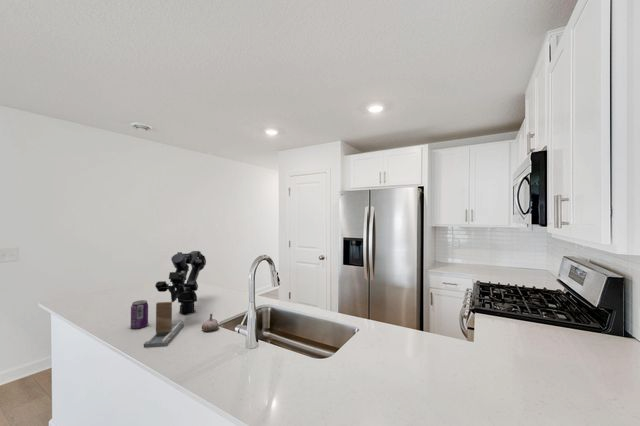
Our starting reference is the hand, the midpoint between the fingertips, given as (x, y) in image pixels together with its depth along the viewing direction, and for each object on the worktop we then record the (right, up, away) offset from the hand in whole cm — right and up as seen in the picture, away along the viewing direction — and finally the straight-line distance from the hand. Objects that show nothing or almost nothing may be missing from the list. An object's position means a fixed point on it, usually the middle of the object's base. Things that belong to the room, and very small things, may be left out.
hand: (172, 301), depth 131 cm
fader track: (+1, -13, -8) cm, 15 cm away
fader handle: (+1, -11, -10) cm, 15 cm away
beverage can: (-18, -13, +2) cm, 22 cm away
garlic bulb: (+19, -14, -1) cm, 23 cm away
